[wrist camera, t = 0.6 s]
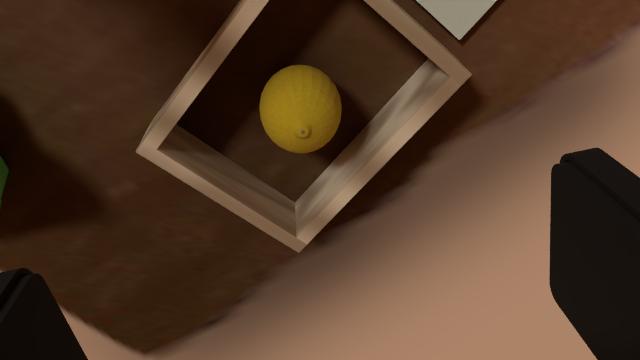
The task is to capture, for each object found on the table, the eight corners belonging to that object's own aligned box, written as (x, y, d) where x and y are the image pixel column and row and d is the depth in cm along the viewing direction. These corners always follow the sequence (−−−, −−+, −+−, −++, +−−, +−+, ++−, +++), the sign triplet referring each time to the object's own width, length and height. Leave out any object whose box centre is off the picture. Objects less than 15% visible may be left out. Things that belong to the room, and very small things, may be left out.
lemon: (348, 101, 41) (362, 148, 34) (284, 134, 42) (285, 186, 35) (314, 37, 38) (322, 73, 31) (246, 73, 39) (239, 116, 32)
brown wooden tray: (301, -84, 34) (303, -78, 30) (450, 52, 39) (472, 74, 35) (151, 122, 40) (135, 151, 36) (297, 216, 45) (298, 252, 41)
